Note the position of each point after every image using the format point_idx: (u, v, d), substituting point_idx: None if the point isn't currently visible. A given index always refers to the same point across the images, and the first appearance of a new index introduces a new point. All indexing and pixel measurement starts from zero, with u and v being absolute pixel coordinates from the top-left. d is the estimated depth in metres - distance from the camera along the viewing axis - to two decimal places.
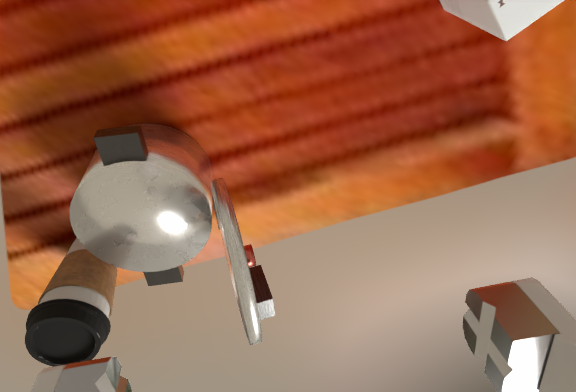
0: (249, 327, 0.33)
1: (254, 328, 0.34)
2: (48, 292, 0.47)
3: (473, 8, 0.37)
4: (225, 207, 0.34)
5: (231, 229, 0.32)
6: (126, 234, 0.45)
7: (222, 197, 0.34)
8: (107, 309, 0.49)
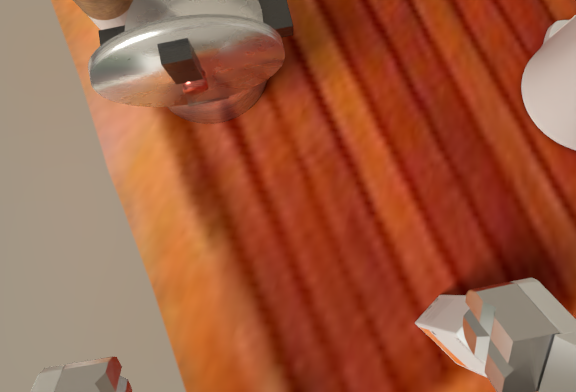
0: (160, 21, 0.27)
1: (157, 28, 0.27)
2: None
3: (456, 309, 0.37)
4: (280, 40, 0.33)
5: (270, 31, 0.31)
6: (179, 9, 0.44)
7: None
8: None
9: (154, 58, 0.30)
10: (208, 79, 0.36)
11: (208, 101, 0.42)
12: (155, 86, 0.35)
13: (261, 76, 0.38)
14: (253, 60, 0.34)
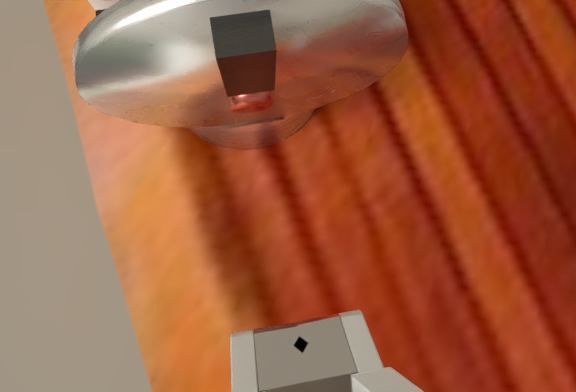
0: None
1: None
2: None
3: None
4: None
5: (402, 13, 0.17)
6: None
7: None
8: None
9: (195, 48, 0.16)
10: None
11: (253, 122, 0.28)
12: (183, 97, 0.21)
13: (345, 90, 0.25)
14: (350, 64, 0.21)
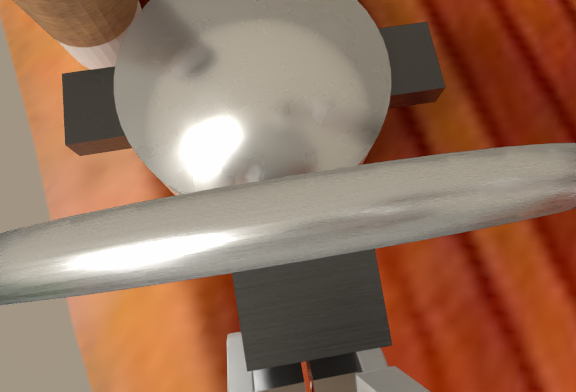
0: (269, 189, 0.05)
1: (248, 224, 0.05)
2: None
3: None
4: None
5: None
6: (225, 42, 0.22)
7: None
8: None
9: None
10: None
11: None
12: None
13: None
14: None
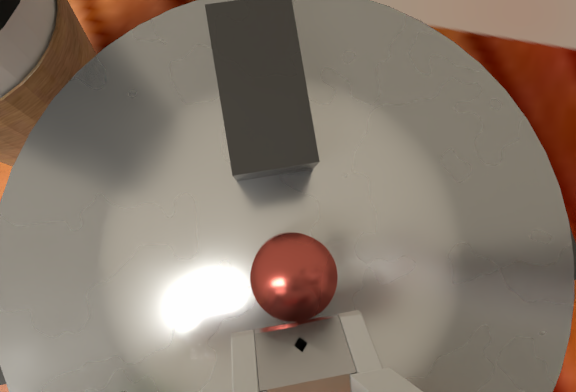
0: None
1: None
2: None
3: None
4: None
5: None
6: None
7: None
8: None
9: (194, 114, 0.11)
10: None
11: None
12: (167, 326, 0.11)
13: (519, 372, 0.11)
14: (473, 226, 0.11)
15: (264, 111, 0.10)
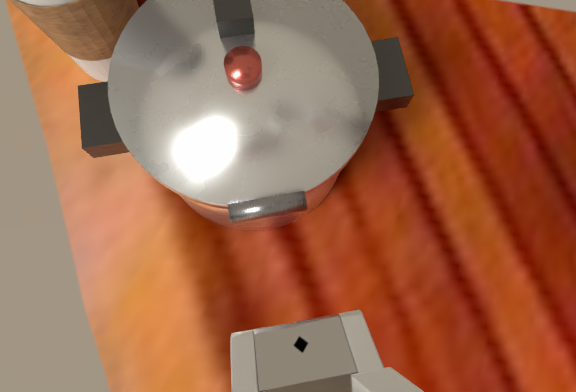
0: None
1: None
2: None
3: None
4: None
5: None
6: None
7: None
8: None
9: (201, 12, 0.25)
10: (266, 98, 0.24)
11: (266, 199, 0.22)
12: (187, 97, 0.24)
13: (353, 117, 0.23)
14: (329, 56, 0.24)
15: None
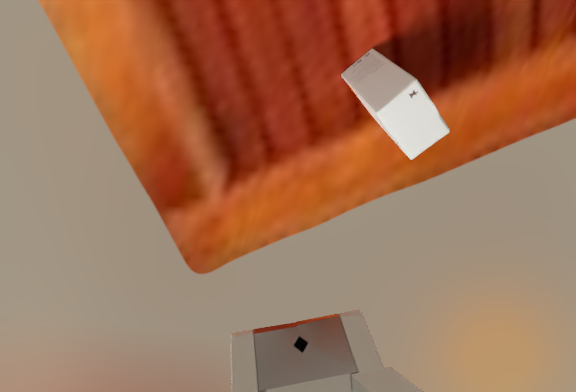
0: None
1: None
2: None
3: (384, 81, 0.37)
4: None
5: None
6: None
7: None
8: None
9: None
10: None
11: None
12: None
13: None
14: None
15: None
